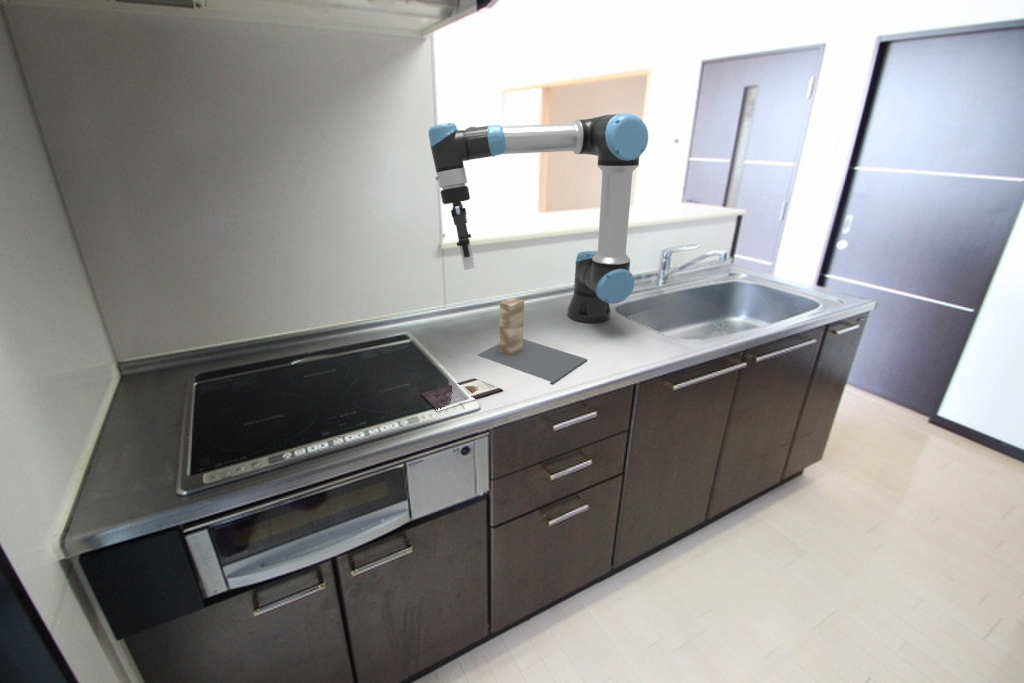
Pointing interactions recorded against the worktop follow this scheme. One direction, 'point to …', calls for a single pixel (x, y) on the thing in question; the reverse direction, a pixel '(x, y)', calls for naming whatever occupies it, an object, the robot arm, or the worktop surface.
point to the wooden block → (511, 326)
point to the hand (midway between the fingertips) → (469, 264)
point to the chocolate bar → (471, 386)
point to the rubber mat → (537, 360)
